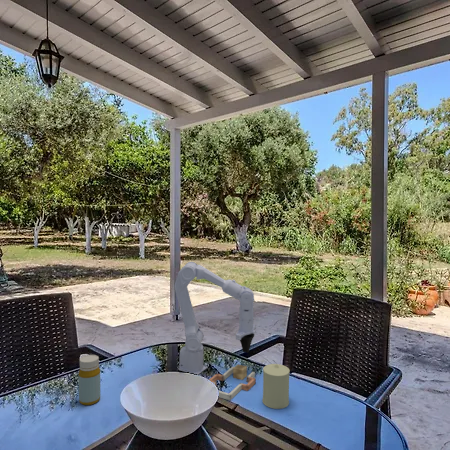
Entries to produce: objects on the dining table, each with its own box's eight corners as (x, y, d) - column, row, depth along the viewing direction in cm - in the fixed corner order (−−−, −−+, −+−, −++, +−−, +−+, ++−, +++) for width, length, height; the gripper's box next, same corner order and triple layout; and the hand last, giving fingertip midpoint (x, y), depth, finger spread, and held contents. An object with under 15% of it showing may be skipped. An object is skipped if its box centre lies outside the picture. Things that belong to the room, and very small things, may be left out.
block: (233, 377, 147) (233, 368, 147) (237, 373, 150) (237, 364, 150) (242, 380, 145) (242, 370, 145) (246, 376, 148) (246, 366, 148)
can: (288, 395, 134) (288, 363, 133) (290, 409, 125) (290, 375, 124) (262, 394, 135) (262, 361, 134) (262, 408, 125) (263, 373, 125)
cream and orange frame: (200, 391, 136) (200, 386, 136) (227, 369, 154) (227, 365, 154) (236, 402, 129) (236, 397, 129) (260, 378, 147) (260, 373, 146)
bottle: (104, 398, 131) (104, 356, 130) (89, 408, 124) (89, 364, 123) (89, 393, 134) (89, 352, 133) (74, 403, 127) (73, 360, 126)
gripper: (247, 325, 142) (246, 360, 143) (262, 315, 155) (262, 347, 156) (231, 322, 146) (230, 356, 147) (247, 313, 158) (246, 344, 159)
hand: (245, 351), depth 151 cm, fingers closed
